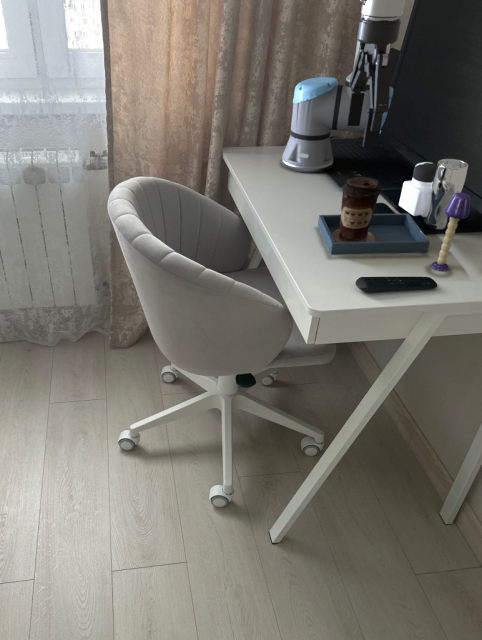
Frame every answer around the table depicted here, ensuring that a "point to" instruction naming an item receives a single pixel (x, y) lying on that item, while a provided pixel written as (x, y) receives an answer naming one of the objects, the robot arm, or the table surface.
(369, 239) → the coaster
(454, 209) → the toy lamp
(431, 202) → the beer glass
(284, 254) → the table surface
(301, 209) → the table surface
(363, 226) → the coffee cup
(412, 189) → the medicine bottle
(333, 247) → the tray
